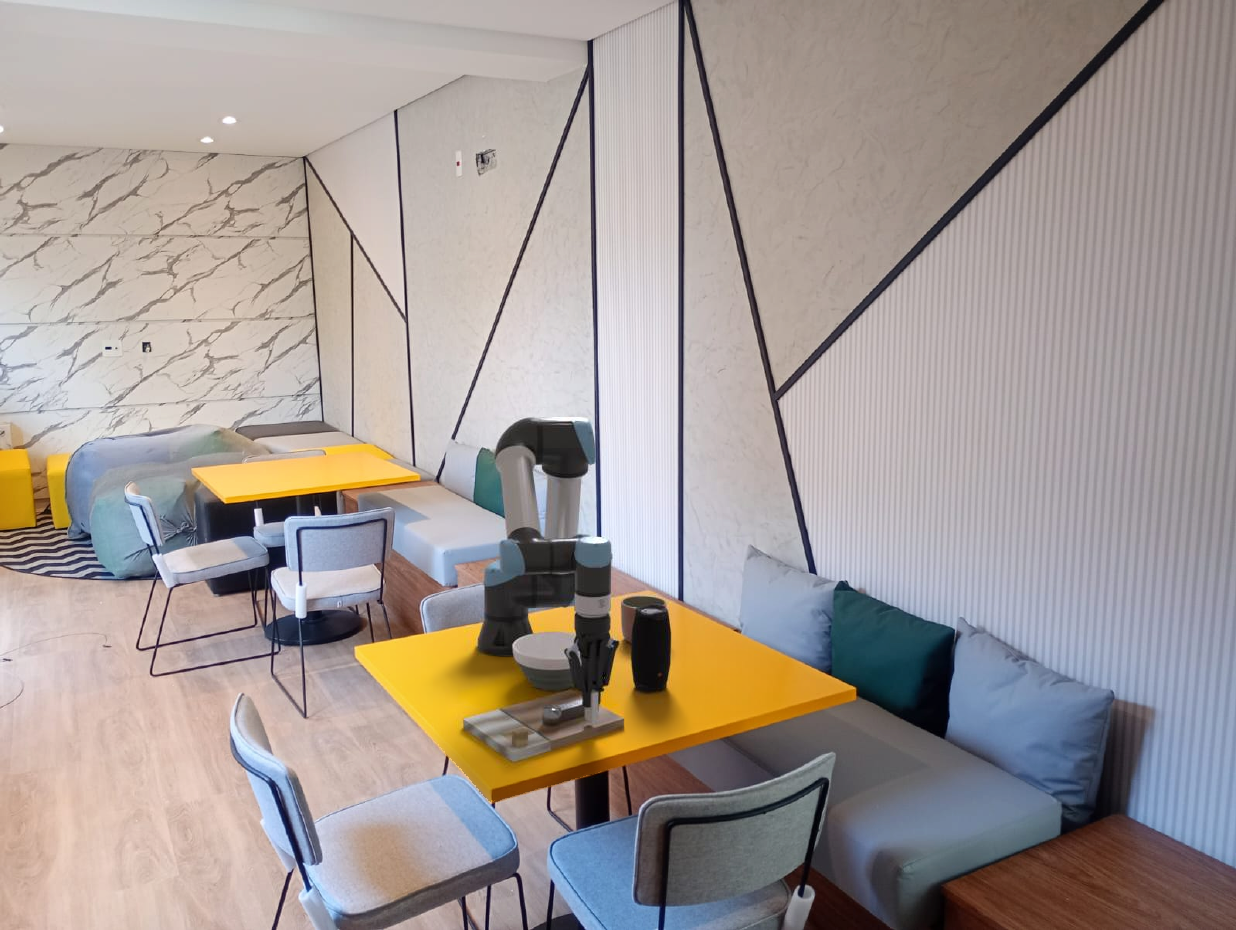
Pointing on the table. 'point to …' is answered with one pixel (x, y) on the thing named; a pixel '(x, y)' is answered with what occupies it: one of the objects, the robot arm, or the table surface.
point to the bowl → (545, 659)
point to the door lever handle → (562, 712)
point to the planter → (629, 611)
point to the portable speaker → (651, 648)
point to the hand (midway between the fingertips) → (591, 720)
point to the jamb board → (537, 727)
